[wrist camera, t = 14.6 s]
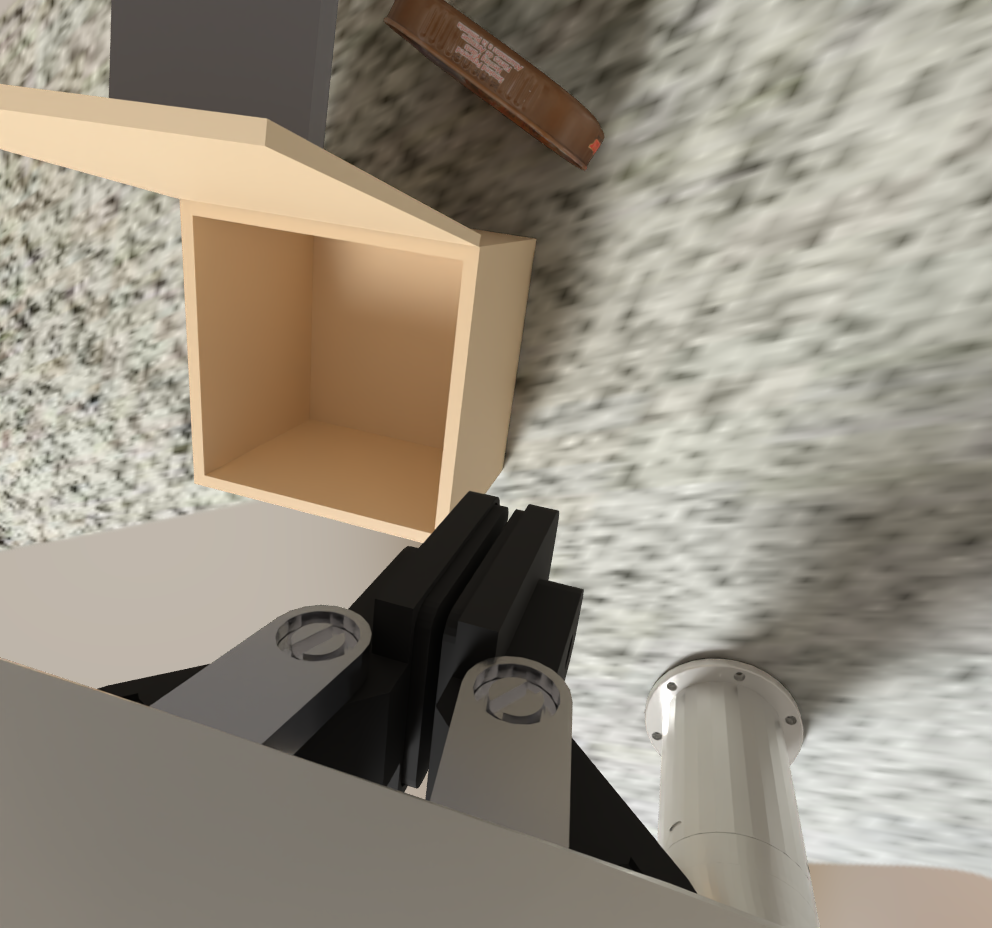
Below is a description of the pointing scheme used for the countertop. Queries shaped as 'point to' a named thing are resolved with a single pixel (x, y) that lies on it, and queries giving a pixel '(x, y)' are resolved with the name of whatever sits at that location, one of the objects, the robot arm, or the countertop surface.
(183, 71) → the lid
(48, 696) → the robot arm
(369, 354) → the carton
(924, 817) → the countertop surface
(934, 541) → the countertop surface
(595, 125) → the tin
